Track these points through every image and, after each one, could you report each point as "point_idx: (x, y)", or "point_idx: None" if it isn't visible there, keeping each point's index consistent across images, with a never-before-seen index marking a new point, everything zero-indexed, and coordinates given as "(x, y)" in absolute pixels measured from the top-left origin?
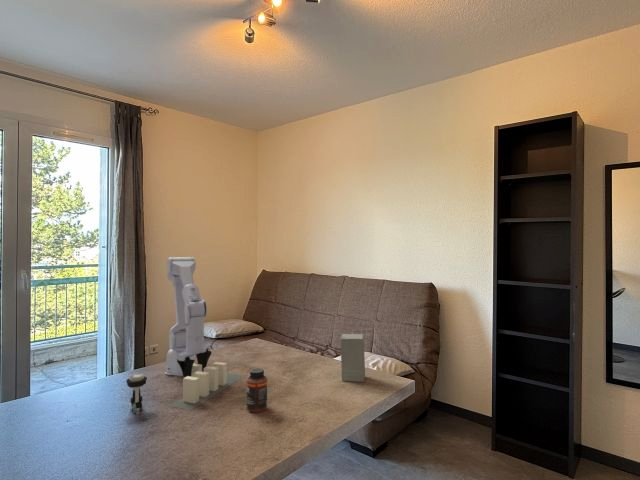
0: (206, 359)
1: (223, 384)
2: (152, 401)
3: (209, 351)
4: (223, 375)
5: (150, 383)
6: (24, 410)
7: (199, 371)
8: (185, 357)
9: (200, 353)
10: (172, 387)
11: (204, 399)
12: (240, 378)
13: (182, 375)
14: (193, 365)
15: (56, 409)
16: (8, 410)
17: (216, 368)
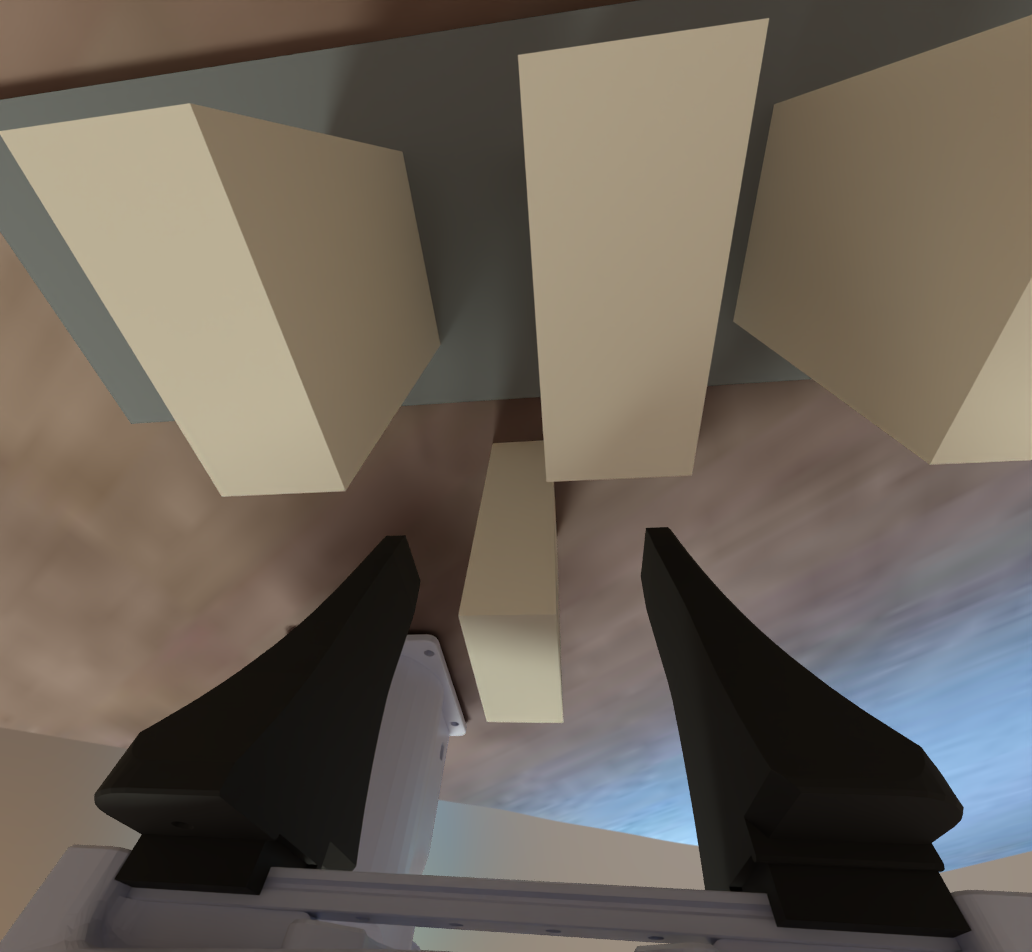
0: (312, 666)
1: (395, 151)
2: (929, 554)
3: (139, 812)
4: (344, 139)
5: (612, 710)
6: (997, 839)
7: (976, 407)
8: (881, 948)
9: (318, 832)
10: (629, 596)
11: (986, 15)
12: (37, 94)
13: (438, 656)
14: (543, 676)
15: (1004, 794)
16: (989, 858)
17: (620, 71)
